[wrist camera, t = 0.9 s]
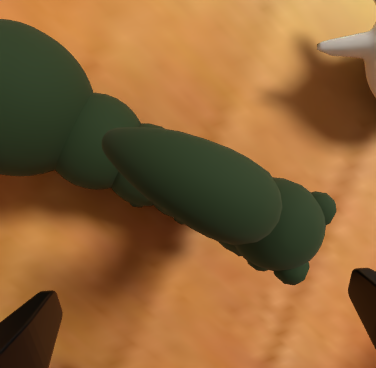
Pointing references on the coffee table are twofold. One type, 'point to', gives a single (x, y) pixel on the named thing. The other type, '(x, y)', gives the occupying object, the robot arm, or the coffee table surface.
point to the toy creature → (356, 51)
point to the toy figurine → (148, 160)
